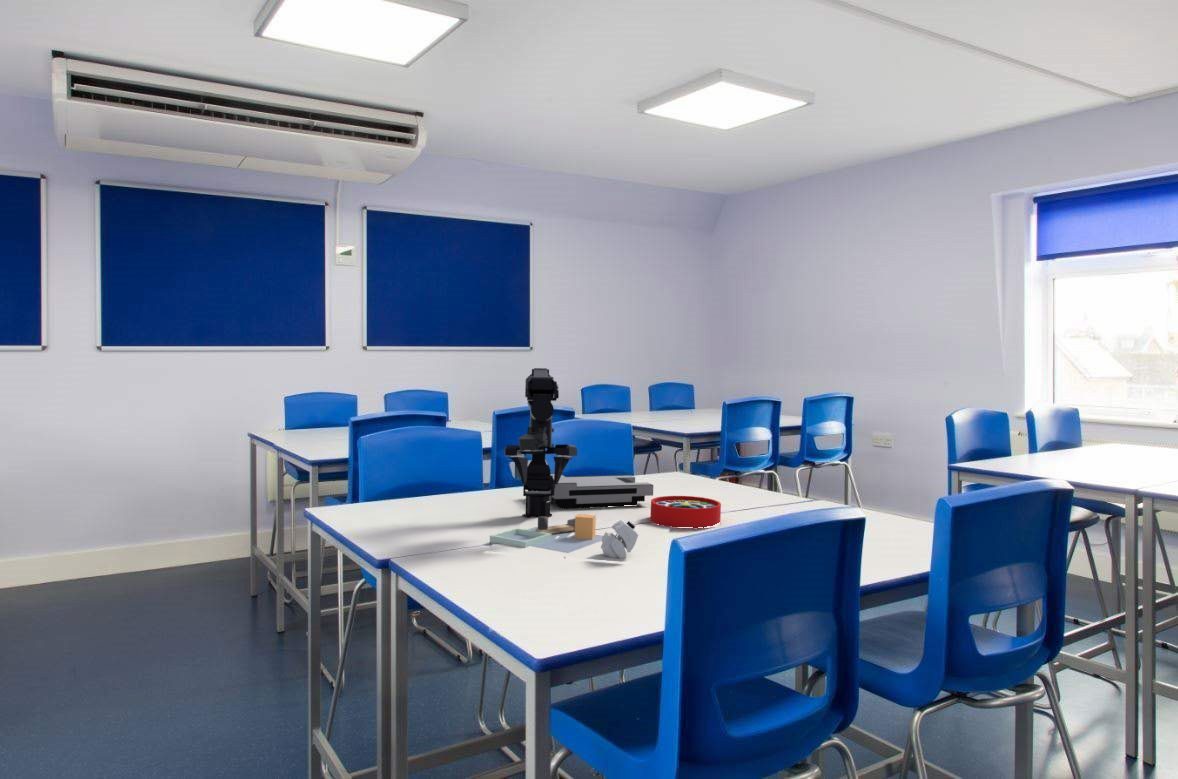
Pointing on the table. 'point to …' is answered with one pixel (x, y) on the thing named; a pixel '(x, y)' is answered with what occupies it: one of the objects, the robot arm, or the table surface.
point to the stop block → (585, 526)
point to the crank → (554, 529)
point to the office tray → (599, 491)
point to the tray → (502, 539)
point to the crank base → (560, 541)
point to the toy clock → (685, 511)
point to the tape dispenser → (619, 540)
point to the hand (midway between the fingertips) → (539, 484)
